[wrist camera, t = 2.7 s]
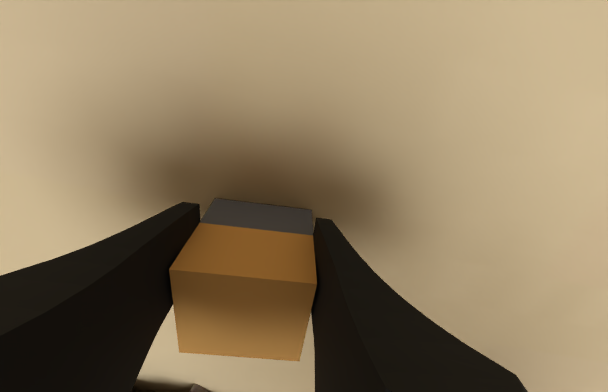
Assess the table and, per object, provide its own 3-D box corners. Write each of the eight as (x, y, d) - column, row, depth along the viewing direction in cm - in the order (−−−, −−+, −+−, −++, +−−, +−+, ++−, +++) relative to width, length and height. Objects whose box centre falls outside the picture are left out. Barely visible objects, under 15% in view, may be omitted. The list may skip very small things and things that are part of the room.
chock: (311, 210, 12) (317, 283, 8) (292, 312, 15) (289, 402, 11) (215, 198, 11) (168, 269, 7) (216, 305, 15) (184, 396, 11)
